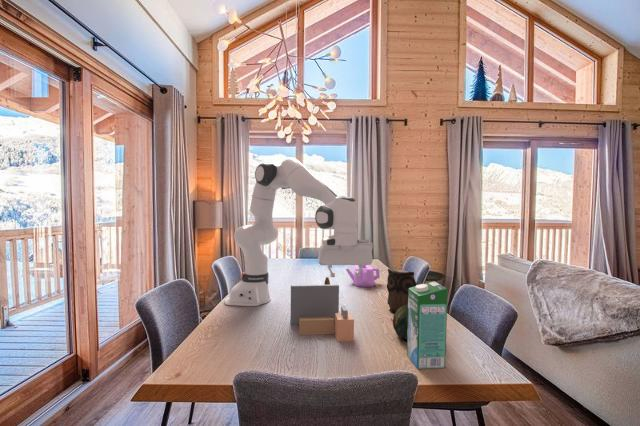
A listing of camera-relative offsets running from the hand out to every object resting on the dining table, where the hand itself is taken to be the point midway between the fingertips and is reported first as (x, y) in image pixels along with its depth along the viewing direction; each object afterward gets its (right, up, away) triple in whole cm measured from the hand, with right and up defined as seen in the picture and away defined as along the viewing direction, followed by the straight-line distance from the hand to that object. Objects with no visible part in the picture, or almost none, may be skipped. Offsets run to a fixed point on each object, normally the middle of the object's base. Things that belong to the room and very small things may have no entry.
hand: (345, 276), depth 119 cm
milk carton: (+25, -24, -17) cm, 38 cm away
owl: (+30, -22, +29) cm, 47 cm away
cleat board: (-11, -22, +11) cm, 27 cm away
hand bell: (-6, -22, +28) cm, 36 cm away
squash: (+26, -24, +1) cm, 35 cm away
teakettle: (+17, -20, +79) cm, 83 cm away
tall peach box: (0, -23, +1) cm, 23 cm away
